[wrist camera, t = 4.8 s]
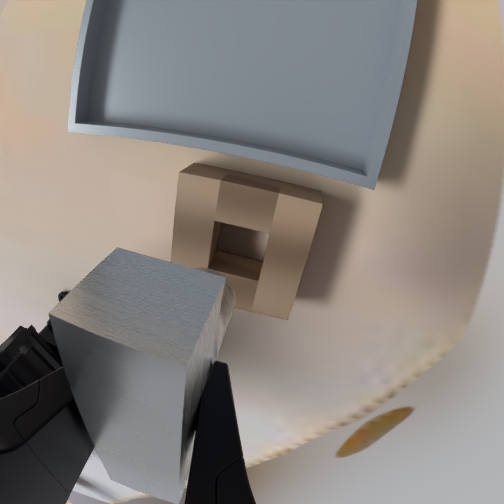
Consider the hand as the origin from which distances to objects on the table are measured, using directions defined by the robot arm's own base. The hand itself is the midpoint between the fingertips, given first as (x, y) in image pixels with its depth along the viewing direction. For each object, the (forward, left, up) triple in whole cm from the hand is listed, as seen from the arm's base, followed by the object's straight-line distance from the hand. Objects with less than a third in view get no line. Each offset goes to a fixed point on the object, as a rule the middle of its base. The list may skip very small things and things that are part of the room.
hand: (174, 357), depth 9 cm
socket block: (-1, 0, -13) cm, 13 cm away
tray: (+14, +3, -13) cm, 19 cm away
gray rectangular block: (0, 0, -4) cm, 4 cm away
